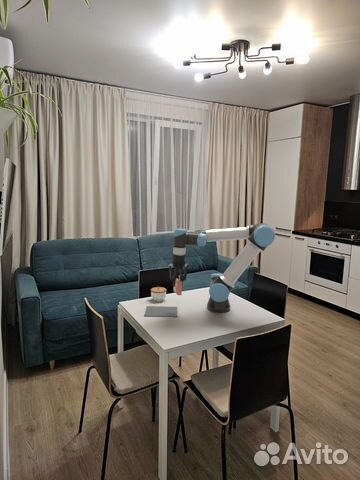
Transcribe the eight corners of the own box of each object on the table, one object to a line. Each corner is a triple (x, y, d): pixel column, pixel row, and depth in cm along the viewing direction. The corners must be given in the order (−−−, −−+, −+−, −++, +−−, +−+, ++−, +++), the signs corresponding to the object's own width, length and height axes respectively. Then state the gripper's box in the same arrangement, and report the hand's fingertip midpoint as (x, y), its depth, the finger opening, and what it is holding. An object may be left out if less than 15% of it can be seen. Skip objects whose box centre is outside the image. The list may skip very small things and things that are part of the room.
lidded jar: (169, 299, 227) (169, 286, 226) (160, 303, 218) (160, 290, 217) (156, 296, 233) (157, 283, 231) (147, 300, 224) (147, 287, 222)
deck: (176, 290, 205) (177, 278, 204) (181, 295, 197) (182, 282, 195) (173, 290, 204) (173, 278, 203) (178, 295, 196) (178, 282, 195)
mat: (177, 307, 212) (177, 306, 212) (177, 317, 196) (177, 316, 196) (146, 307, 211) (146, 306, 211) (144, 316, 196) (144, 315, 195)
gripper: (188, 252, 203) (186, 288, 206) (165, 253, 198) (163, 290, 201) (193, 255, 196) (191, 292, 200) (169, 255, 191) (167, 294, 194)
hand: (177, 291), depth 200 cm, fingers closed on deck, 2 cm apart
